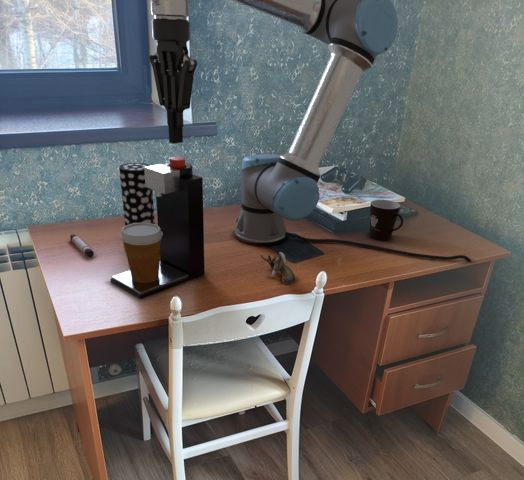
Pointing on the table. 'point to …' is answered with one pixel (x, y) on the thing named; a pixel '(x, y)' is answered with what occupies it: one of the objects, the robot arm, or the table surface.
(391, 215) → the coffee mug
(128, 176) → the spotted tube
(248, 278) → the table surface
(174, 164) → the button
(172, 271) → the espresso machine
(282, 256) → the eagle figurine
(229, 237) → the table surface
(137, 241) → the disposable coffee cup
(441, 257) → the robot arm
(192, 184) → the tower
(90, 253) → the marker
